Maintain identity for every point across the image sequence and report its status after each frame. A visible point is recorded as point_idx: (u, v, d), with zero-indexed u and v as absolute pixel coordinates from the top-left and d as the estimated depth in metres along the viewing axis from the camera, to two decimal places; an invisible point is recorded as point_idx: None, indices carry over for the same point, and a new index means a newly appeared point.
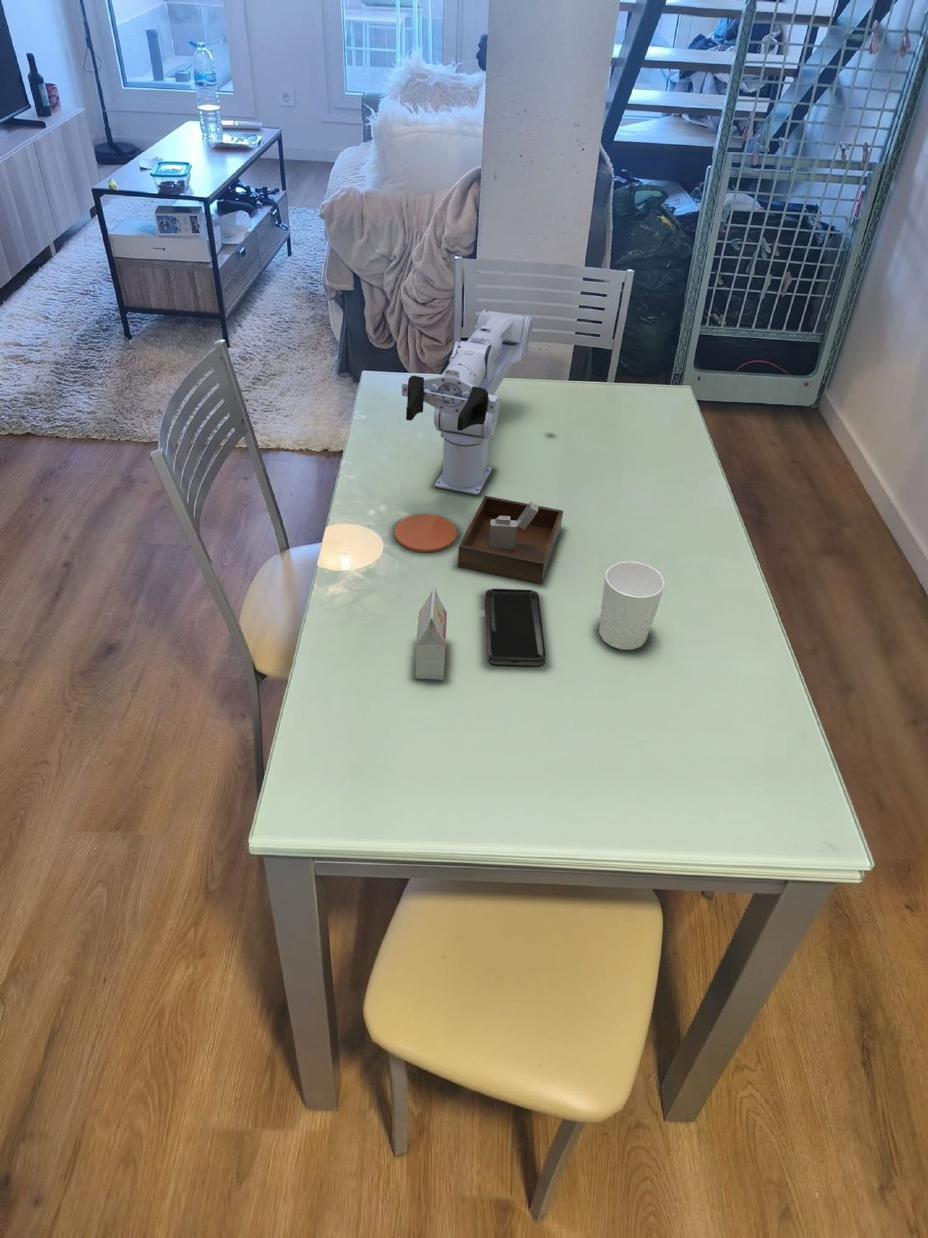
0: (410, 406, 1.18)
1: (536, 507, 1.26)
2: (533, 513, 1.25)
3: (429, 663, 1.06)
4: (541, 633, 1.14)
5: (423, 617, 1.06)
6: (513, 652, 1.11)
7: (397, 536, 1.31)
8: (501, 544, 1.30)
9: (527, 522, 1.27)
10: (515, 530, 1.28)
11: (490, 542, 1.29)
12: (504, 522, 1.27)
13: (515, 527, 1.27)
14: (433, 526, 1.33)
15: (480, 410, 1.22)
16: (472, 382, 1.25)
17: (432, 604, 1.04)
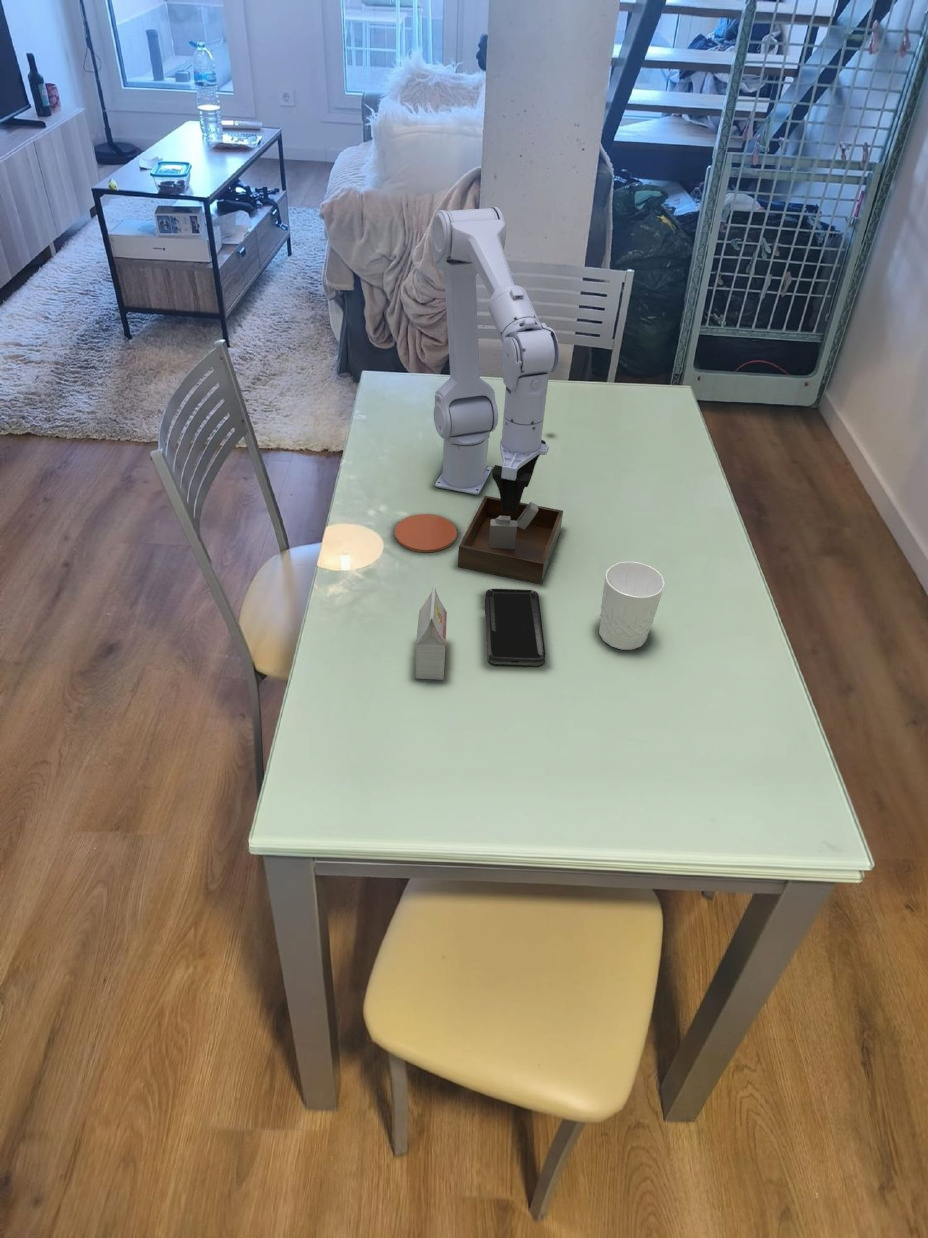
0: None
1: (536, 507, 1.26)
2: (533, 513, 1.25)
3: (429, 663, 1.06)
4: (541, 633, 1.14)
5: (423, 617, 1.06)
6: (513, 652, 1.11)
7: (397, 536, 1.31)
8: (501, 544, 1.30)
9: (527, 522, 1.27)
10: (515, 530, 1.28)
11: (490, 542, 1.29)
12: (504, 522, 1.27)
13: (515, 527, 1.27)
14: (433, 526, 1.33)
15: None
16: None
17: (432, 604, 1.04)
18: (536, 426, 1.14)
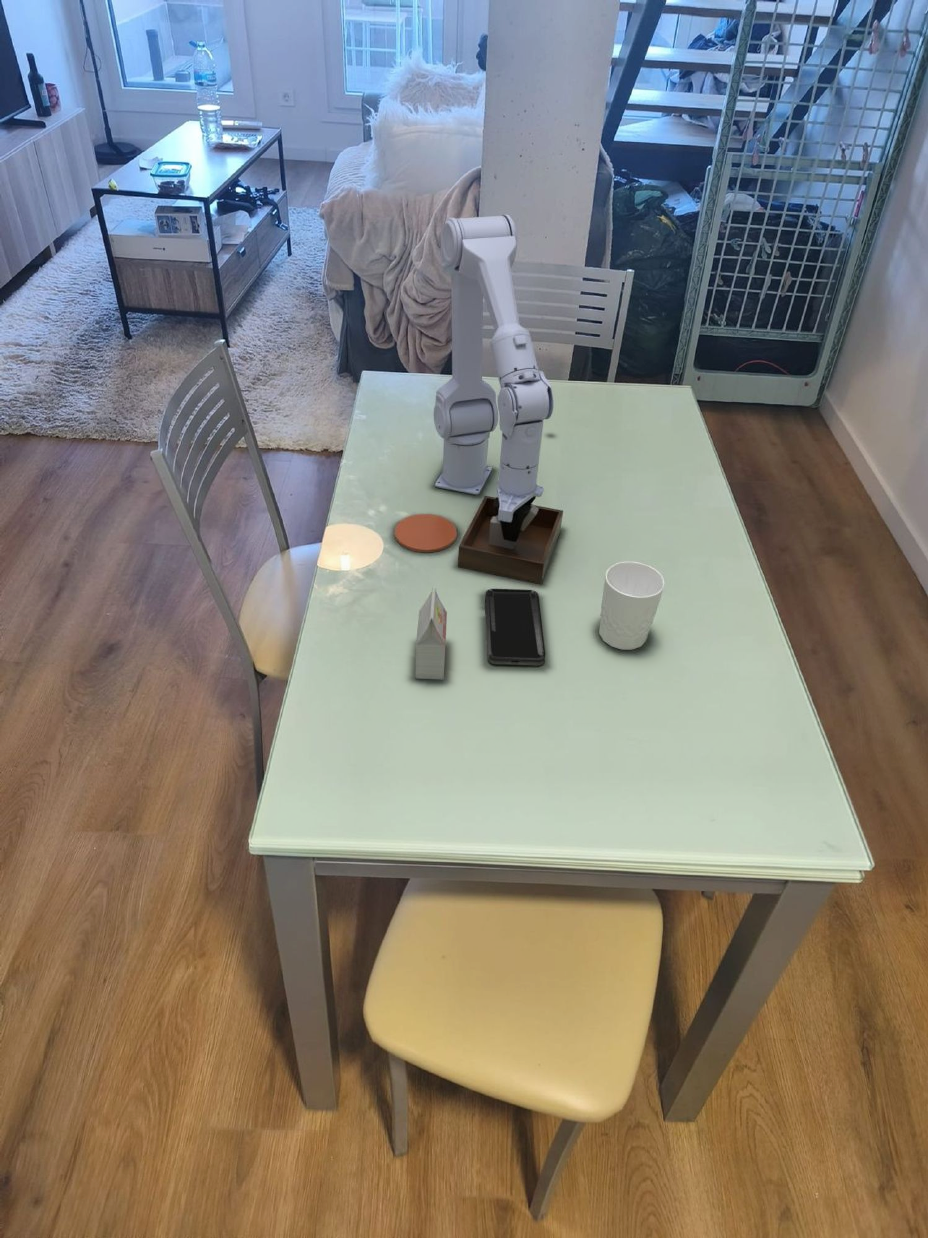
0: None
1: (536, 510, 1.25)
2: (532, 515, 1.25)
3: (429, 663, 1.06)
4: (541, 633, 1.14)
5: (423, 617, 1.06)
6: (513, 652, 1.11)
7: (397, 536, 1.31)
8: (500, 543, 1.30)
9: (526, 524, 1.26)
10: None
11: (490, 539, 1.30)
12: None
13: None
14: (433, 526, 1.33)
15: None
16: None
17: (432, 604, 1.04)
18: (531, 470, 1.19)
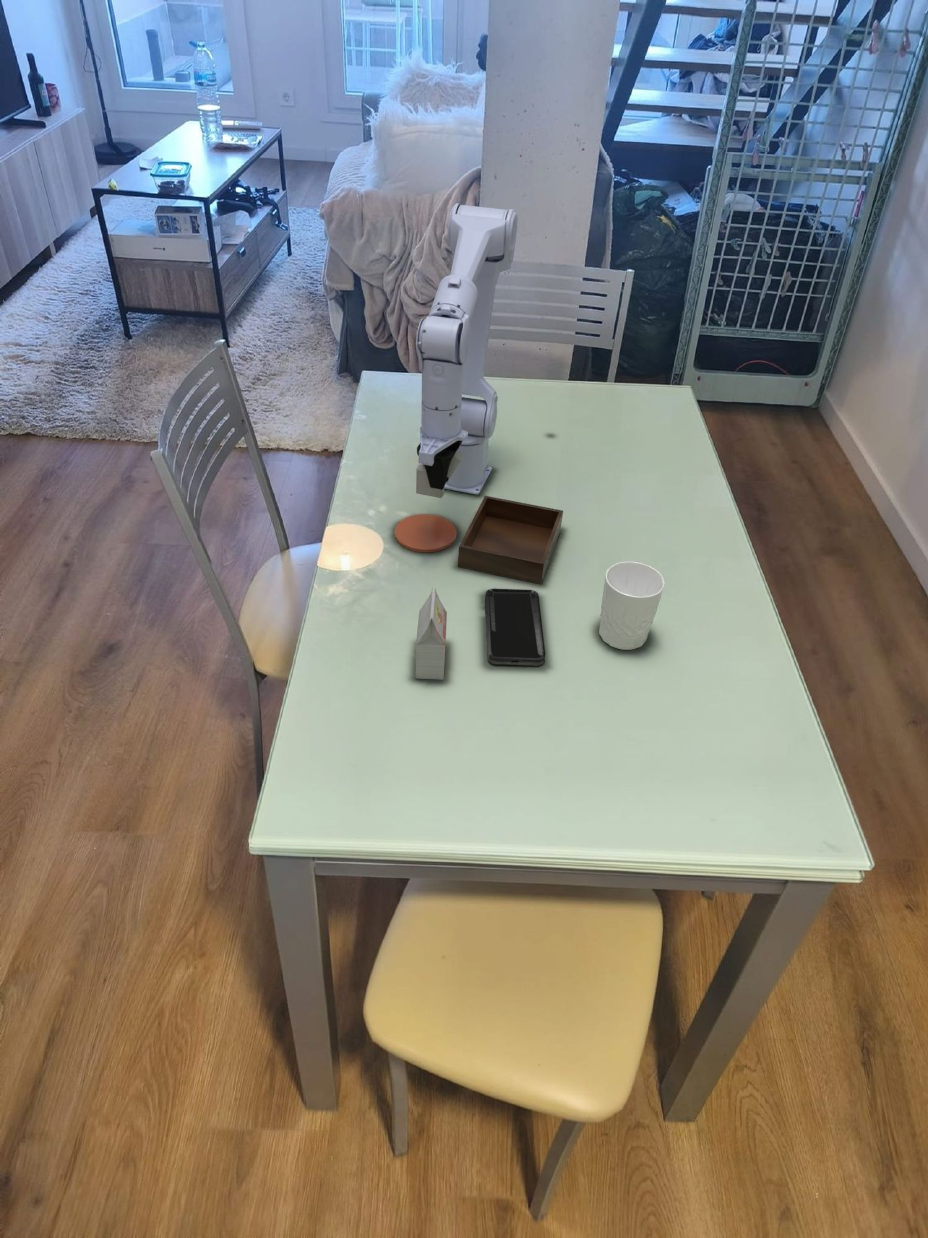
0: (444, 486, 1.25)
1: (461, 455, 1.22)
2: (457, 461, 1.22)
3: (429, 663, 1.06)
4: (541, 633, 1.14)
5: (423, 617, 1.06)
6: (513, 652, 1.11)
7: (397, 536, 1.31)
8: (427, 491, 1.27)
9: (451, 470, 1.23)
10: None
11: (417, 487, 1.27)
12: None
13: None
14: (433, 526, 1.33)
15: None
16: None
17: (432, 604, 1.04)
18: (453, 412, 1.16)
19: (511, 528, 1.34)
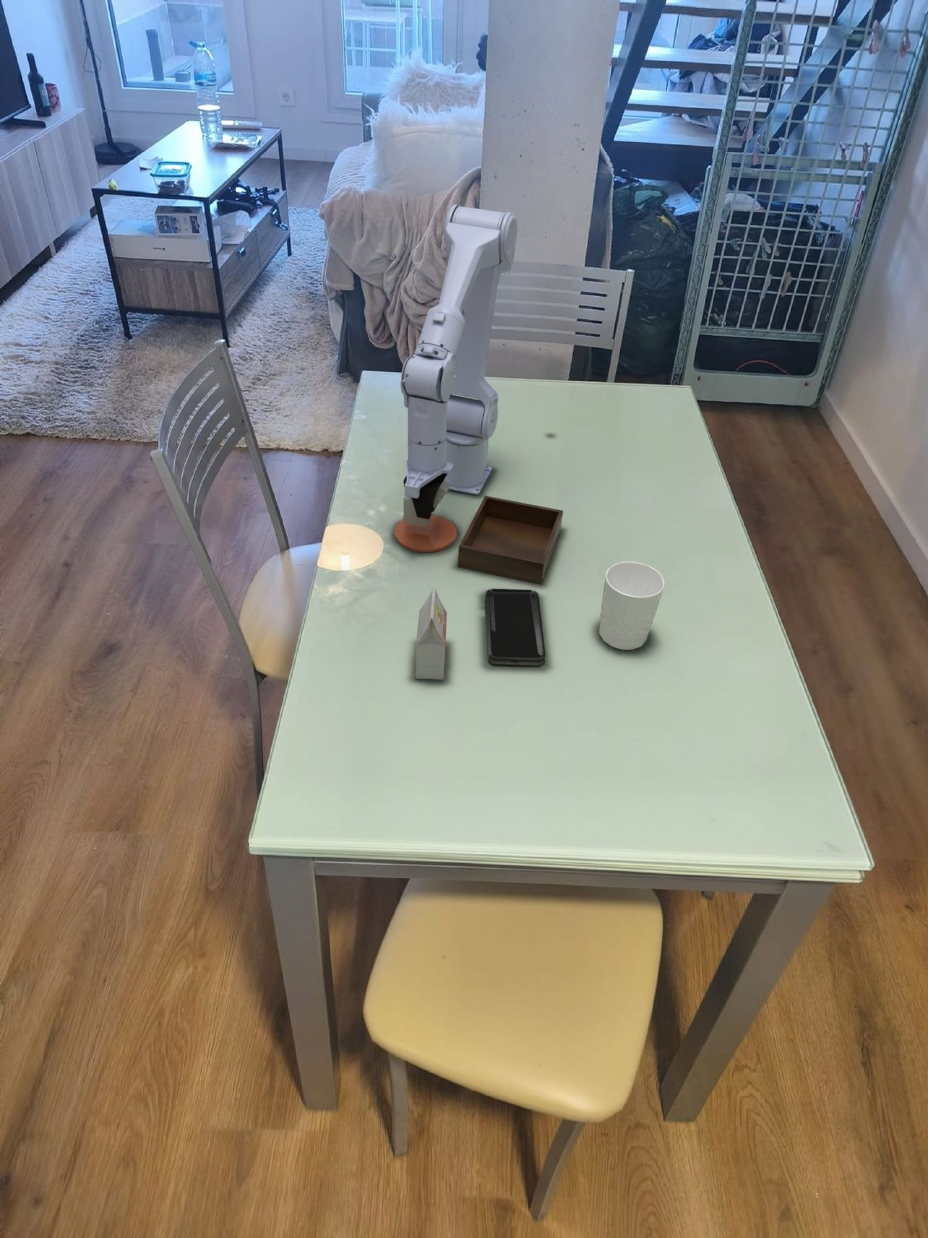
0: (430, 516, 1.29)
1: (447, 487, 1.26)
2: (442, 493, 1.26)
3: (429, 663, 1.06)
4: (541, 633, 1.14)
5: (423, 617, 1.06)
6: (513, 652, 1.11)
7: (397, 536, 1.31)
8: (414, 521, 1.31)
9: (437, 501, 1.27)
10: None
11: (404, 517, 1.31)
12: None
13: None
14: (433, 526, 1.33)
15: None
16: None
17: (432, 604, 1.04)
18: (438, 446, 1.20)
19: (511, 528, 1.34)
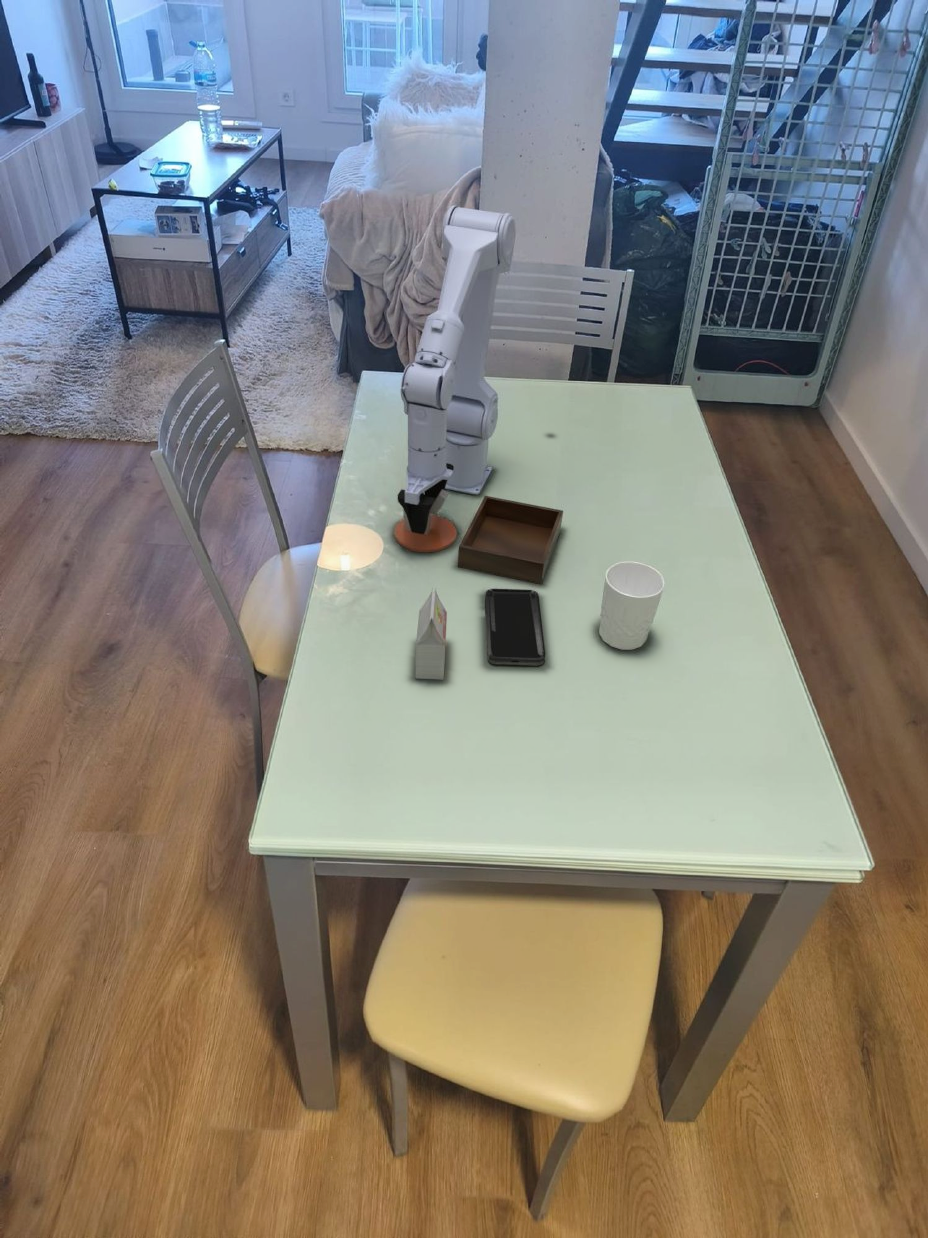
0: (424, 531, 1.28)
1: (446, 495, 1.27)
2: (442, 500, 1.27)
3: (429, 663, 1.06)
4: (541, 633, 1.14)
5: (423, 617, 1.06)
6: (513, 652, 1.11)
7: (397, 536, 1.31)
8: None
9: (437, 509, 1.28)
10: None
11: (404, 524, 1.32)
12: None
13: None
14: (433, 526, 1.33)
15: None
16: None
17: (432, 604, 1.04)
18: (437, 453, 1.21)
19: (511, 528, 1.34)
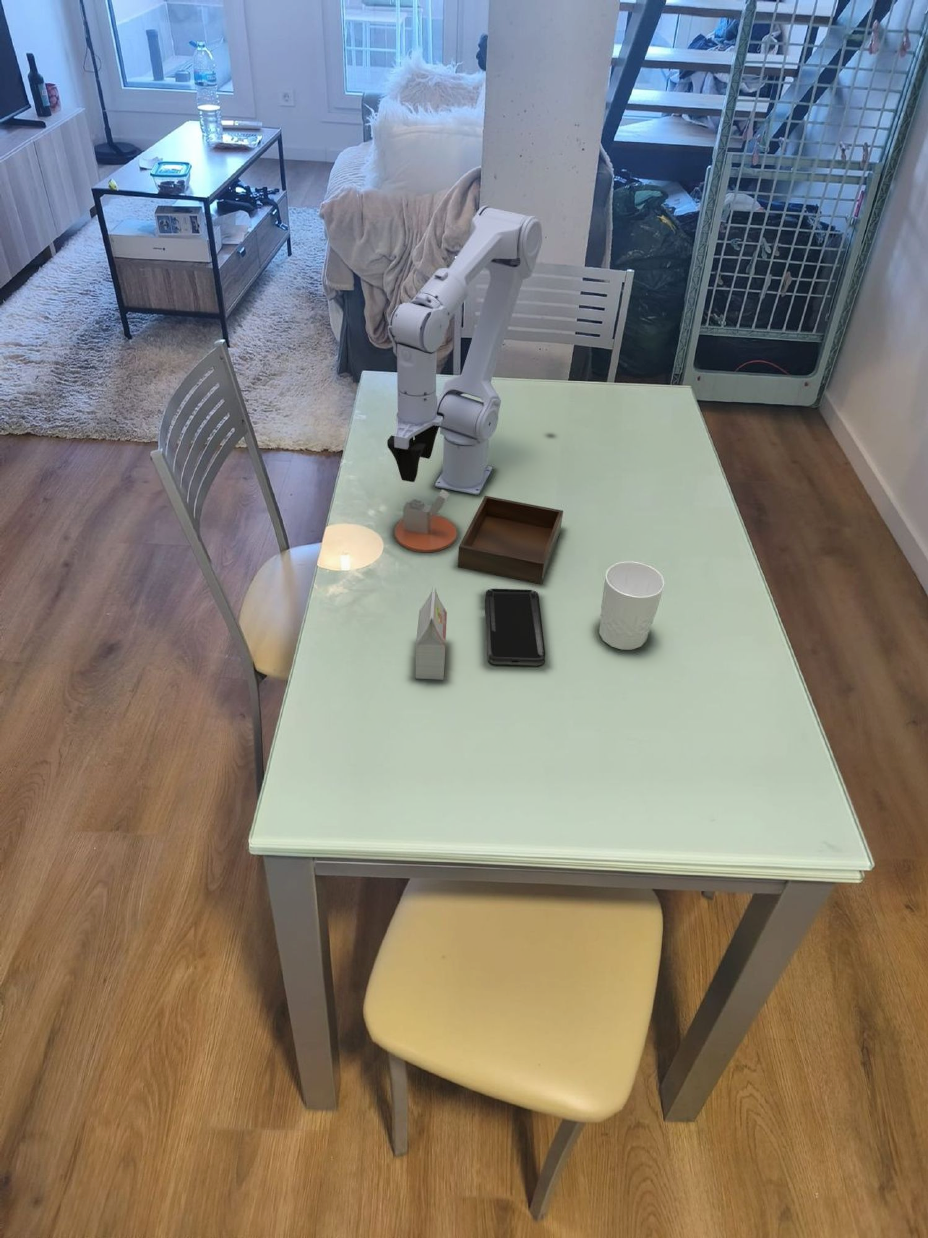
0: None
1: (446, 495, 1.27)
2: (442, 500, 1.27)
3: (429, 663, 1.06)
4: (541, 633, 1.14)
5: (423, 617, 1.06)
6: (513, 652, 1.11)
7: (397, 536, 1.31)
8: (414, 528, 1.32)
9: (437, 509, 1.28)
10: (426, 515, 1.29)
11: (404, 524, 1.32)
12: (416, 506, 1.29)
13: (426, 512, 1.29)
14: (433, 526, 1.33)
15: None
16: None
17: (432, 604, 1.04)
18: (427, 397, 1.20)
19: (511, 528, 1.34)
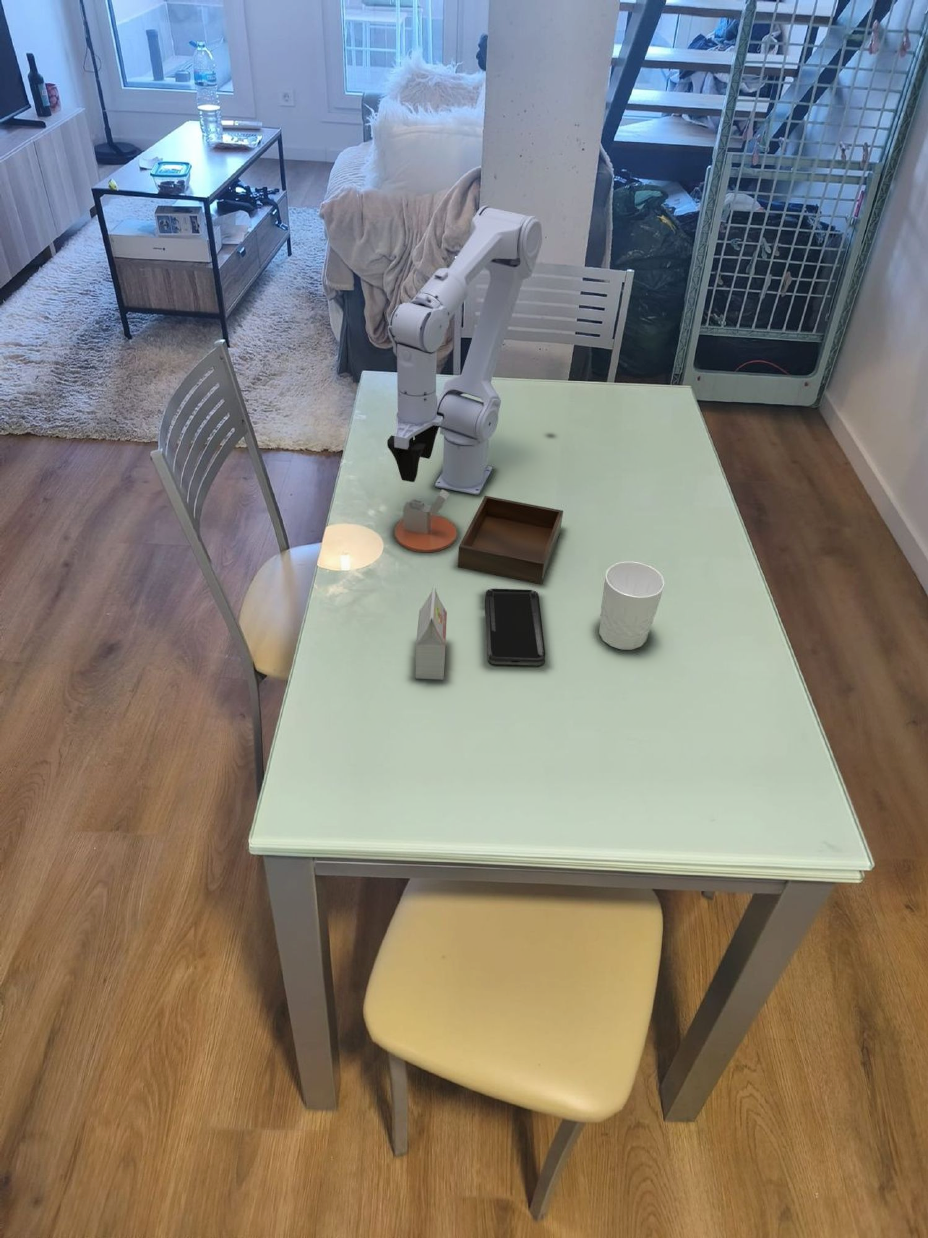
0: None
1: (446, 495, 1.27)
2: (442, 500, 1.27)
3: (429, 663, 1.06)
4: (541, 633, 1.14)
5: (423, 617, 1.06)
6: (513, 652, 1.11)
7: (397, 536, 1.31)
8: (414, 528, 1.32)
9: (437, 509, 1.28)
10: (426, 515, 1.29)
11: (404, 524, 1.32)
12: (416, 506, 1.29)
13: (426, 512, 1.29)
14: (433, 526, 1.33)
15: None
16: None
17: (432, 604, 1.04)
18: (427, 397, 1.20)
19: (511, 528, 1.34)
